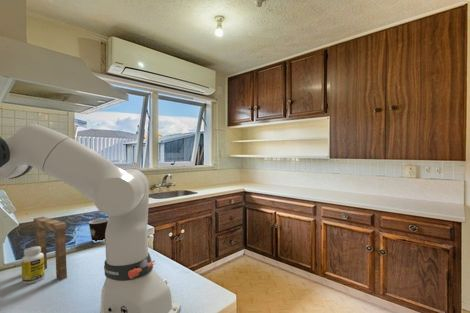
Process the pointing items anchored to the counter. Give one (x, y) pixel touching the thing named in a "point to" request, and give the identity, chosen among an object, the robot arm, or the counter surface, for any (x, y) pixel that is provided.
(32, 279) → the pill bottle
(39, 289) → the counter surface
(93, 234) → the coffee mug
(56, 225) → the walnut archway
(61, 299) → the counter surface
